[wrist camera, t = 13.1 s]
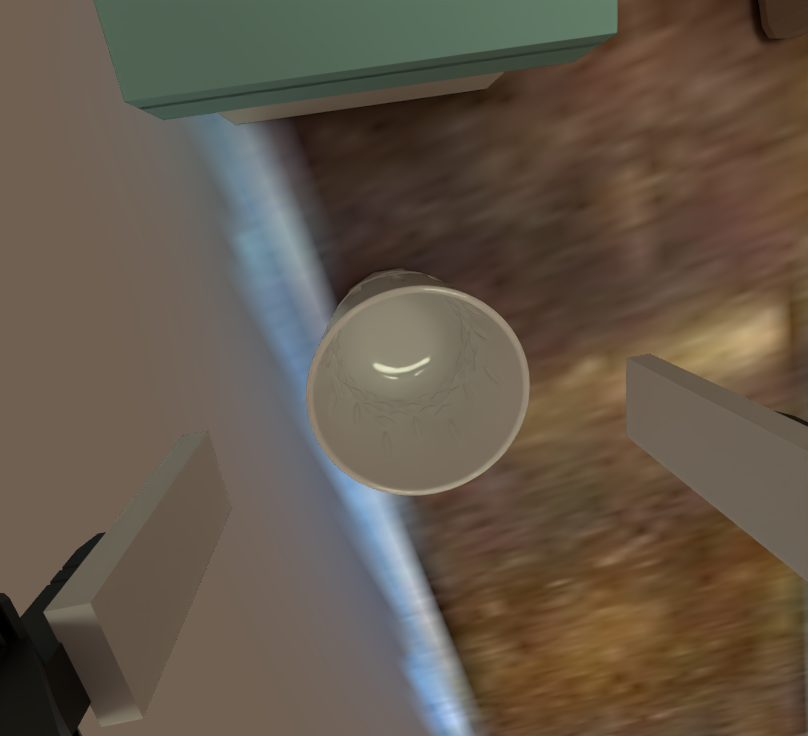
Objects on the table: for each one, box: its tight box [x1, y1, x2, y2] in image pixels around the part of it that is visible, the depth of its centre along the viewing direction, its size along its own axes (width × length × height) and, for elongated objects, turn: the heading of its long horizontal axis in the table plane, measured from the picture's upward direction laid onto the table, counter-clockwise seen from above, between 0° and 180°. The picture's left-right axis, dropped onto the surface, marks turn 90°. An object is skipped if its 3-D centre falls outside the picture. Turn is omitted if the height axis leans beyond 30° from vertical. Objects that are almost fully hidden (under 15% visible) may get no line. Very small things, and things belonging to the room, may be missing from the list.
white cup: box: [306, 268, 530, 495], centre depth 21 cm, size 8×8×10 cm
